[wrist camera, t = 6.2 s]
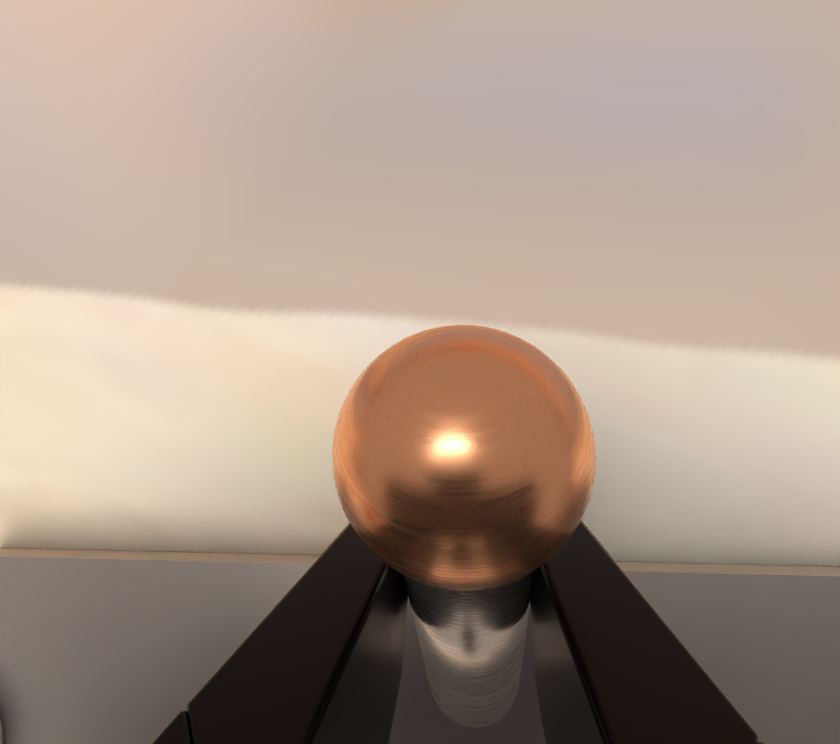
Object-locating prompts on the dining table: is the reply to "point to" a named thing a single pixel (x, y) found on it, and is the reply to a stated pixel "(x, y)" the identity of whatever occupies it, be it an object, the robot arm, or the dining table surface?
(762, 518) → the dining table surface
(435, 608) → the toggle lever
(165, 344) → the dining table surface
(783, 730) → the switch panel
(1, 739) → the push button
